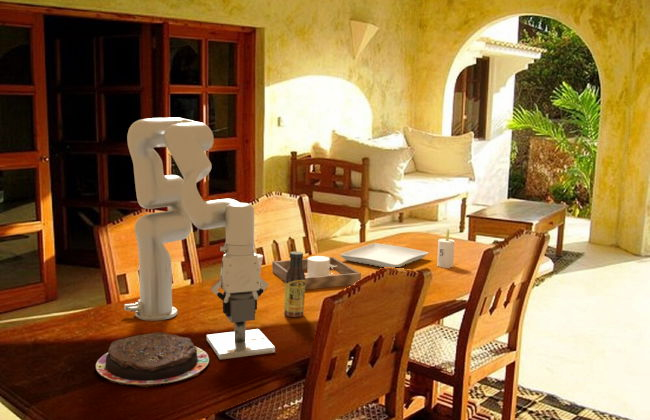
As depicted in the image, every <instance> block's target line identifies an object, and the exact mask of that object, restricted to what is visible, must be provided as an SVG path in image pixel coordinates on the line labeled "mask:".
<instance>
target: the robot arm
mask: <svg viewBox="0 0 650 420" xmlns="http://www.w3.org/2000/svg"><path fill="white" fill-rule="evenodd" d="M126 137H127V139H126V141H127V147H128V150H129V154H130V157H131V160H132V164H133V175H134V184H135V192H136V193H135V194H136V199H137V203H138V204H139V205H138V206H140V207H141V208H143V209H149V210H151V209H161V208H166V207H167V210H166V211H159V212H157V211H156V212H151V213H146V214H144V215H142V216H140V217H138V218H137V220H136V221H135V224H134V233H135V238H136V243H137V251H138V269H139V270H138V272H139V299H137V302H136V301H135V302H134V303H124V305H123V306H124V311H129V312H134V316H135V317H136V318H137V319H139V320H143V321H148V322H150V321H152V322H157V321H165V320H169V319H172V318H174V317H176V316H177V314H178V309H177V308H176V307H175V306H173V287H172V286H173V283H172V280H173V279H172V276H173V275H172V274H173V273H172V272H173V271H172V257H171V253H170V252H169V251H168V249H167V247H166V246H165V244H168V243H173V242H178V241H183V240H185V239H187V238H189V236H190V234H191V230H192V224H193V225H194V226H195V227H196V228H198V229H199V230H203V231H205V230H206V231H207V230H212V229H217V228H219V229H220V228H225V243H224V245H222V246H220V247H219V248H220V249H219V251H220V252H224V254H223V256H222V258H221V266H220V267H221V268H220V278H219V279H218V280H217V281H216V282H215V283H214V284H213V285H212V286H211V287H210V290H211V291H212V293H213V294H215V295H216V296H217V297H218V298H219V299H220V301H222V313H223V314H224V315H225V317H226V316H227V317H230V303H229V298H230V294H233V293H244V292H253V297H254V298H255V311H257V310H258V300H259V298H260V296H261V295H262V294H263V293H264V291H265V290H266V289H267V288H268V287H269V283H268V282H267V281H266V280H264V279H263V278H262V277H261V272H260V270H259V262H258V256H257V254H258V253H256V252H255V208H254V206H253V205H252V204H251V203H248V202H240V201H238V200H236V199H233V198H221V199H219V198H218V199H213V200H212V199H211V200H203V198H202V196H201V195H200V192H199V190H198V187H197V183H199V182H201V180H203V179H204V178H206V177H207V176H208V175H209V174H210V172H211V170H212V165H213V164H212V163H211V161H210V159H209V157H208V155H207V153H206V152H207V151H209V150H210V149H211V148H212V147H213V145H214V133H213V131H212V130H211V127H209V126H208V125H207V124H206V123H204V122H200V121H195V120H192V119H187V118H182V117H152V118H151V117H150V118H148V117H147V118H143V119H142V118H141V119H138V120H136V121H134V122H132V124H131V125H130V127H129V128H128V132H127V135H126ZM166 147H167V149H168V151H169V153H170V155H171V156H172V159H173V160H174V162H175V165H176V166H177V168H178V170H179V171H180V174H181V175H182V177H183V178H182V177H181V176H180V175H176V174H168V175H167V174H166V175H165V174H164V164H163V160H162V158H161V156H160V154H159V153H158V152H157V151H156V150H155V149H154V148H166ZM220 288H221V289H222V290H223V293H222V292H221V291H220V290H219V289H220ZM227 317H226V318H227Z"/></svg>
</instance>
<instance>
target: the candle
mask: <svg viewBox="0 0 650 420" xmlns="http://www.w3.org/2000/svg"><path fill="white" fill-rule="evenodd" d="M437 243H438V244H437V260H436V261H437V262H436V263H437V264H436V265H437V267H438V266H439V267H438V268H441V267H442V269H451V268H450V267H452V268H453V267H454V257H455V256H454V255H455V240H454V239H450V229H447V231H446V234H445V238H440V239H438V241H437Z"/></svg>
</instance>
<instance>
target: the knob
mask: <svg viewBox="0 0 650 420" xmlns="http://www.w3.org/2000/svg"><path fill="white" fill-rule="evenodd" d="M229 303H230V317H227V316H226V315H225V317H226V318H227V319H228V320H229V322H231V324H233V323H234V322H243V321H246V322H248V321H255V320H256V310H255V298H254V297H253V292H244V293H233V294H230V298H229Z"/></svg>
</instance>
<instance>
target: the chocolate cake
mask: <svg viewBox="0 0 650 420" xmlns="http://www.w3.org/2000/svg"><path fill="white" fill-rule="evenodd" d="M107 351H108V352H106V353H104V354H103V355H102V356H101V357H100V358H98V359H97V361H96V363H95V371H96V372H97V373H98V375H100V376H101V377H102V378H104V379H106V380H108V381H109V382H110V383H111V382H113V383H112V384H116V383H118V385H124V384H125V385H126V386H129V385H132V386H137V387H140V388H141V387H142V388H149V386H151V387H154V385H155V386H162V385H161V384H163V385H167V384H171V383H176V382H182V381H184V380H188V379H190V378H193V377H197V376H199V375H200V373H201V372H203V371H204V370H205V369H206V367H208V365H209V363H210V360H211V359H210V358H209V354H208V353H207V352H206V350H203V349H202V348H200V347H197V346H196V345H194V343H193V341H192V339H191V338H189V337H186V336H184V337H183V336H179V335H176V334H170V333H166V332H163V331H158V332H151V333H145V334H144V333H143V334H139V335H138V334H137V335H133V336H130V337H125V338H121V339H116V340H114V341H112V342H111V343H110V346H109V347H108V350H107ZM125 385H124V386H125Z"/></svg>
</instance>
